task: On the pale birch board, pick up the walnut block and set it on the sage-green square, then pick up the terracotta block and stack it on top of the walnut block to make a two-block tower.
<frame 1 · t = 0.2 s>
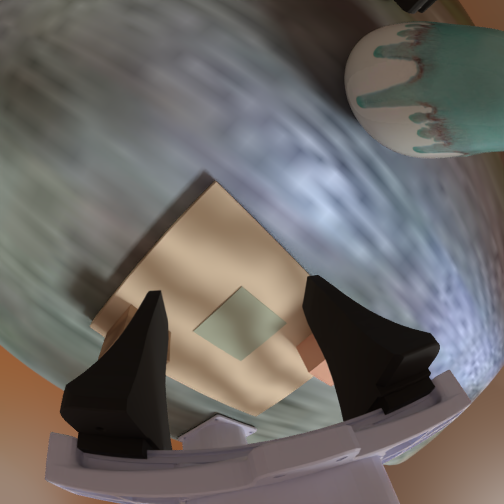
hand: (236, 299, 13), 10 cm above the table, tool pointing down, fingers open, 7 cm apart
walnut block: (137, 332, 23), point 1 cm above the table, touching birch board
vase: (379, 94, 20), on the table
terracotta block: (323, 342, 29), point 1 cm above the table, touching birch board
birch board: (239, 332, 27), on the table
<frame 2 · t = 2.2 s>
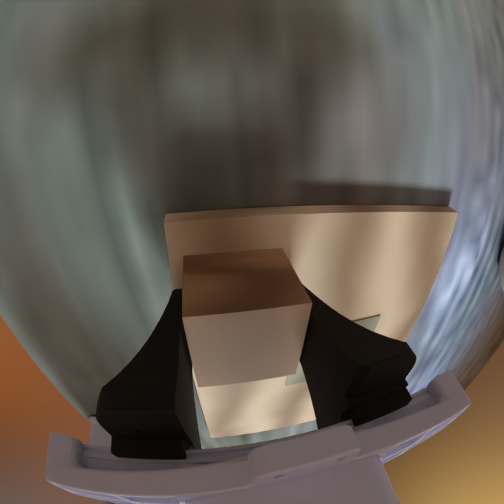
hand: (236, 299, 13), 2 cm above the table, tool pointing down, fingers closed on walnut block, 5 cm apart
walnut block: (234, 291, 14), point 1 cm above the table, touching birch board, gripper
birch board: (312, 354, 20), on the table
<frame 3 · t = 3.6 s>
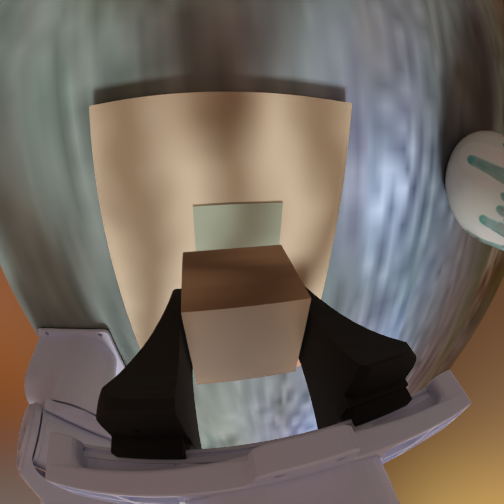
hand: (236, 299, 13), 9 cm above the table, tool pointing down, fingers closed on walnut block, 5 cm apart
walnut block: (233, 287, 14), point 8 cm above the table, touching gripper
vase: (461, 171, 23), on the table
birch board: (223, 249, 22), on the table
when the fingers open (3 cm above the table, at t = 5.4 s): walnut block stays where it is, resting on birch board.
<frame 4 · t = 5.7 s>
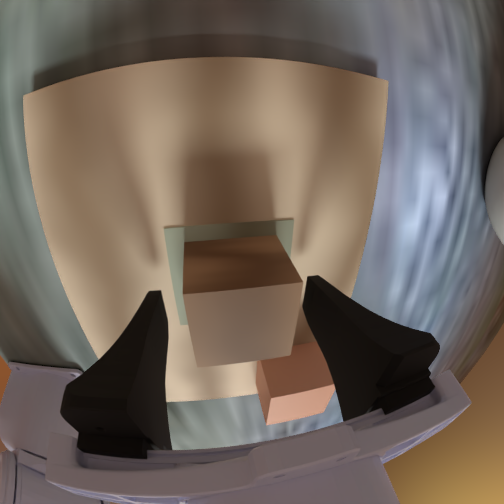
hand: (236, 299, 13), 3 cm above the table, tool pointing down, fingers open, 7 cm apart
walnut block: (232, 276, 15), point 1 cm above the table, touching birch board
vase: (499, 175, 17), on the table
terracotta block: (285, 364, 20), point 1 cm above the table, touching birch board
birch board: (212, 282, 16), on the table
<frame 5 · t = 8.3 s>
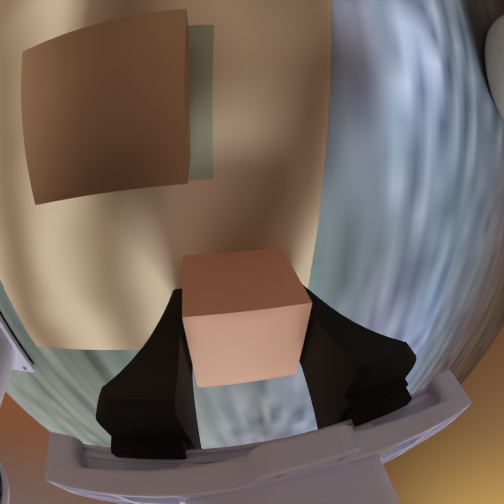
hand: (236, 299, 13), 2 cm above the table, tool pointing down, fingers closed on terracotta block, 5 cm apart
walnut block: (129, 104, 8), point 1 cm above the table, touching birch board
vase: (500, 75, 10), on the table
terracotta block: (234, 291, 14), point 1 cm above the table, touching birch board, gripper
birch board: (114, 133, 10), on the table
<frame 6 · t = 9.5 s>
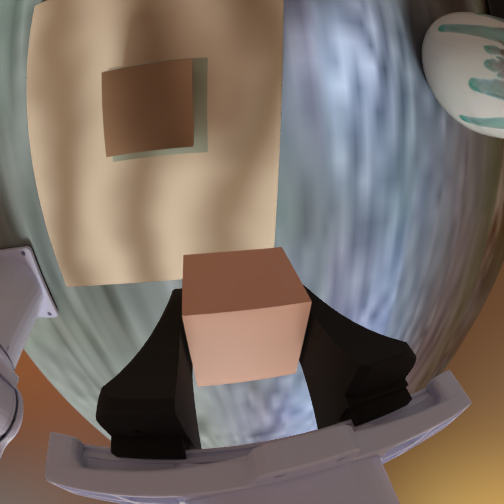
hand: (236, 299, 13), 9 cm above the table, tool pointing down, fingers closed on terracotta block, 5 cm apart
walnut block: (157, 106, 15), point 1 cm above the table, touching birch board
vase: (444, 69, 16), on the table
terracotta block: (234, 290, 14), point 8 cm above the table, touching gripper
birch board: (145, 123, 16), on the table
when the fingers open (7 cm above the table, at t = 11.1 s): terracotta block stays where it is, resting on walnut block.
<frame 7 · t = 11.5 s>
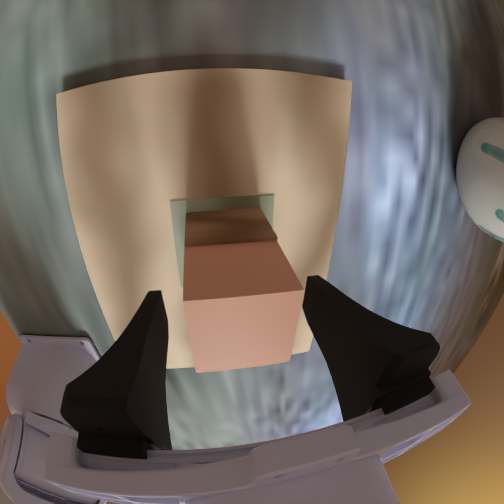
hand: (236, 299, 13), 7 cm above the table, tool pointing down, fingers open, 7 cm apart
walnut block: (224, 242, 18), point 1 cm above the table, touching birch board, terracotta block
vase: (472, 162, 20), on the table
terracotta block: (231, 281, 15), point 5 cm above the table, touching walnut block
birch board: (208, 250, 19), on the table
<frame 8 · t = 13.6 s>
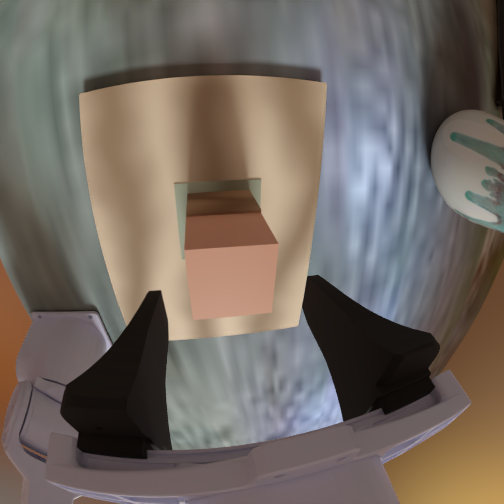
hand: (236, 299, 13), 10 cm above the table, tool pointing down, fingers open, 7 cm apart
walnut block: (219, 219, 21), point 1 cm above the table, touching birch board, terracotta block
vase: (448, 152, 23), on the table
terracotta block: (224, 247, 18), point 5 cm above the table, touching walnut block
birch board: (206, 227, 22), on the table
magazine: (500, 40, 15), on the table
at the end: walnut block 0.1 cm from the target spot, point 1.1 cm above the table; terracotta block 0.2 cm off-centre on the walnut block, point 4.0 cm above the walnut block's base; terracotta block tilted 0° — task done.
